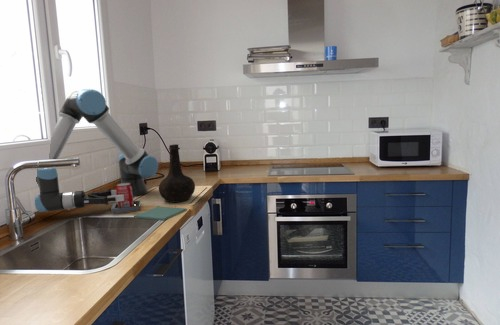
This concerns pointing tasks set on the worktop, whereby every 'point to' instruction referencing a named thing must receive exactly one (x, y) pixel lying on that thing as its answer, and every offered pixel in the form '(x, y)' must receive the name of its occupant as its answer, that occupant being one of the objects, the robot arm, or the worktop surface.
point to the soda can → (125, 195)
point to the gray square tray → (125, 208)
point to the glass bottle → (176, 180)
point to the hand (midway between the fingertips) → (124, 194)
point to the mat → (160, 213)
